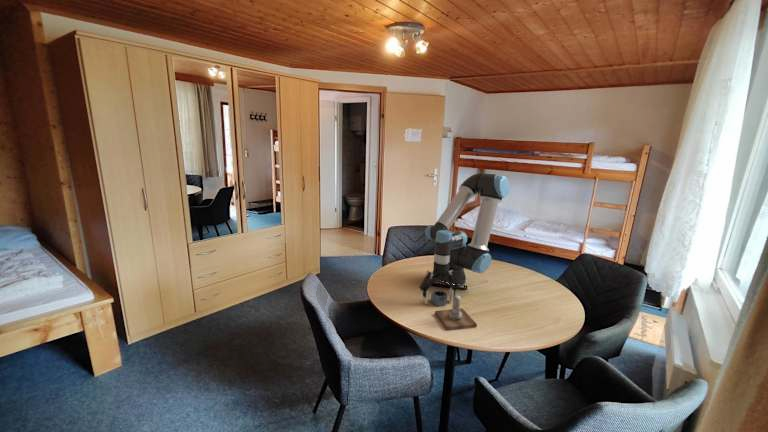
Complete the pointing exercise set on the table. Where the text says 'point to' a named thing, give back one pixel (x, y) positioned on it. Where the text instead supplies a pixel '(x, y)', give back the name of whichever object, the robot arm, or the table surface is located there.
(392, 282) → the table surface
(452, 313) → the shaft block
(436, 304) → the collar
